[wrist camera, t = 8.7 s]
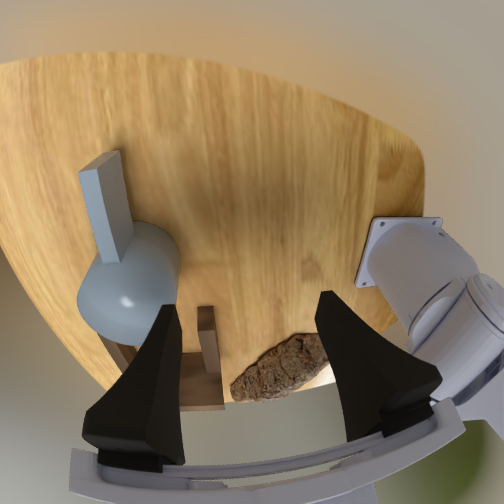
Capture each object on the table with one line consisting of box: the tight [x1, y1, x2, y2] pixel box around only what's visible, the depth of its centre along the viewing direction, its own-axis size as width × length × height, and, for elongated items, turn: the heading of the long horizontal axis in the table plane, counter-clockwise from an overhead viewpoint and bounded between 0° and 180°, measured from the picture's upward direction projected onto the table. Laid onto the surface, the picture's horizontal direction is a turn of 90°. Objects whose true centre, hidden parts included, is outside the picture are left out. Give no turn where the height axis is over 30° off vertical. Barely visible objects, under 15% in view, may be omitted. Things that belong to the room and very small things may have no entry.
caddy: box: [97, 306, 225, 411], centre depth 25 cm, size 12×9×7 cm
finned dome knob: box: [77, 150, 181, 346], centre depth 17 cm, size 7×13×6 cm, turn 179°
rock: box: [230, 334, 329, 403], centre depth 32 cm, size 15×10×6 cm
